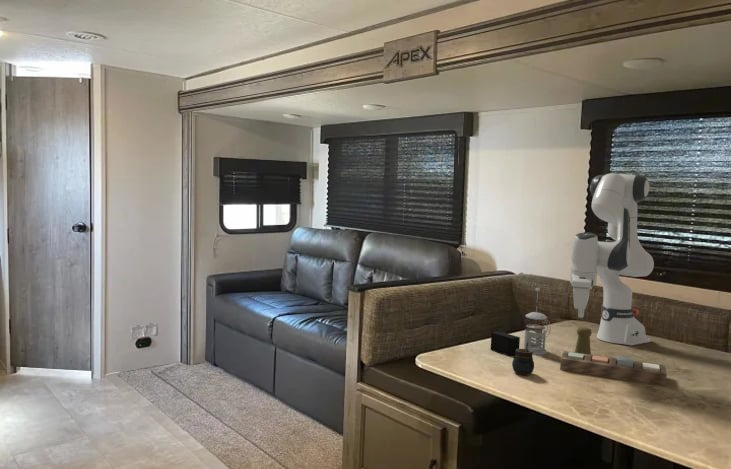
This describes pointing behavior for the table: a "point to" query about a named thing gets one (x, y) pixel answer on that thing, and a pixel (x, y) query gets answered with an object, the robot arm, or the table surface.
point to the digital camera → (504, 343)
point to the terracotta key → (600, 359)
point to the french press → (538, 335)
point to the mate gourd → (523, 361)
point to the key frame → (614, 369)
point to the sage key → (575, 355)
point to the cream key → (650, 366)
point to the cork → (583, 340)
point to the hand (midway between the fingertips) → (581, 316)
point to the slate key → (624, 361)
